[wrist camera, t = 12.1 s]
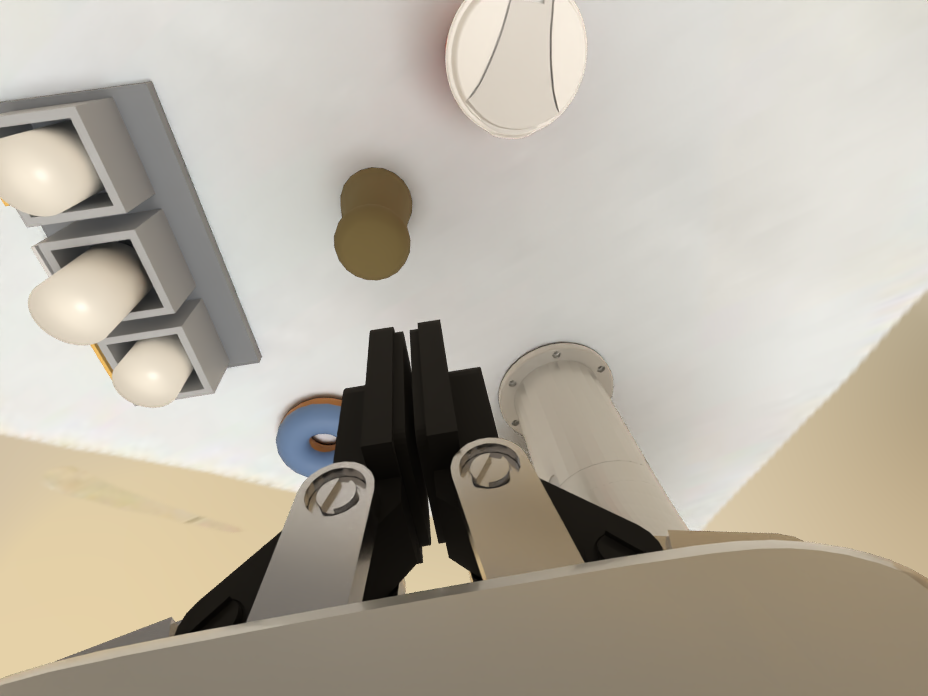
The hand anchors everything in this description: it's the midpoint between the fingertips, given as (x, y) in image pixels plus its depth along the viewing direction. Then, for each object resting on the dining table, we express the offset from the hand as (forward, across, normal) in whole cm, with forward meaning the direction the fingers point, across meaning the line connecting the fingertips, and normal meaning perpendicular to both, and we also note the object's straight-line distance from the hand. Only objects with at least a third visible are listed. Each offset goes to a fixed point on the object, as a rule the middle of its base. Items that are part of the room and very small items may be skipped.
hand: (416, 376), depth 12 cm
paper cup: (+33, -7, -5) cm, 34 cm away
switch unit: (+33, +23, +6) cm, 41 cm away
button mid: (+29, +23, +6) cm, 37 cm away
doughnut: (+34, +13, +28) cm, 46 cm away
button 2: (+32, +23, +14) cm, 42 cm away
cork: (+33, +3, +5) cm, 34 cm away
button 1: (+32, +23, -2) cm, 39 cm away
